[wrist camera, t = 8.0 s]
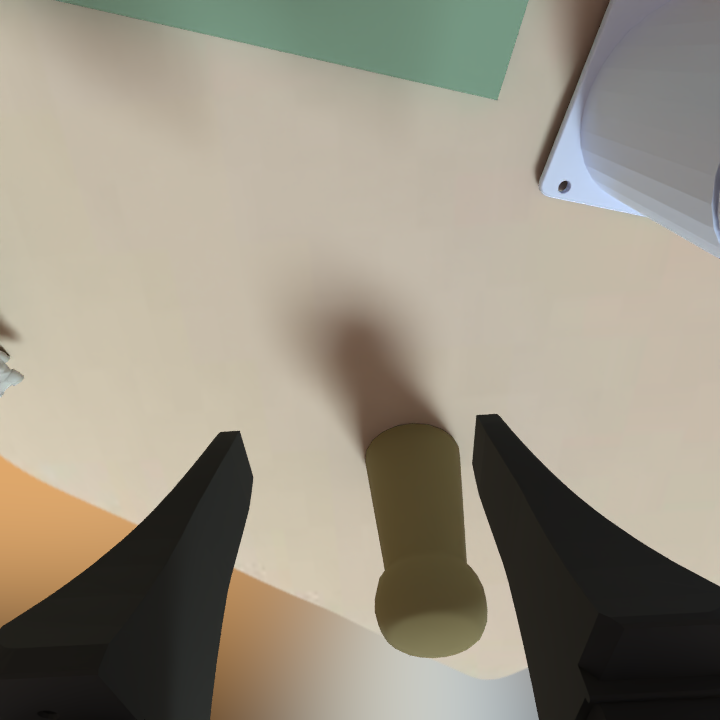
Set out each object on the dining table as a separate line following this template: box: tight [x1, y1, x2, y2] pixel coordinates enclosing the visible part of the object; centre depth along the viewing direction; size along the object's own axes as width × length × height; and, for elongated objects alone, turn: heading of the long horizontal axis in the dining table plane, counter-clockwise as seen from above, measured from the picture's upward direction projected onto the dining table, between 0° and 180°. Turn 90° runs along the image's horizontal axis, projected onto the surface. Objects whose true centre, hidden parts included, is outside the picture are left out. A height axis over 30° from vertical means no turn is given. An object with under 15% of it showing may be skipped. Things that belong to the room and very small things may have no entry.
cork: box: [365, 423, 487, 658], centre depth 24 cm, size 6×6×11 cm
